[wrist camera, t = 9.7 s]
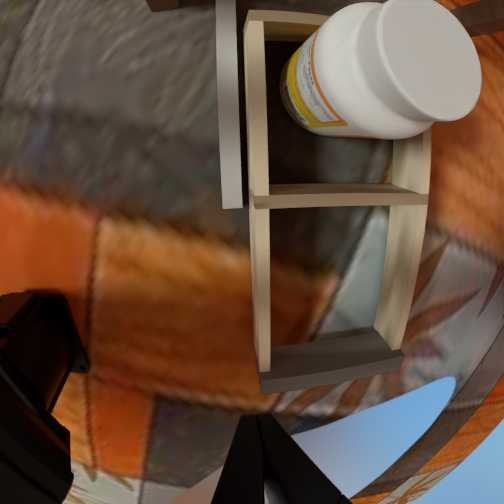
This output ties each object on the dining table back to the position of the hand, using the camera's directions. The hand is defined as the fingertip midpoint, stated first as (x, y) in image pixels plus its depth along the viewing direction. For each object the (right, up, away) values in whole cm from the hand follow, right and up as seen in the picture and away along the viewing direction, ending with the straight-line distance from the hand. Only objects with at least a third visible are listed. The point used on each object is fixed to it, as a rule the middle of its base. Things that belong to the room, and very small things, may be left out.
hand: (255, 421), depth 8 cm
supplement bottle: (+4, +14, +7) cm, 16 cm away
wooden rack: (+4, +7, +9) cm, 13 cm away
